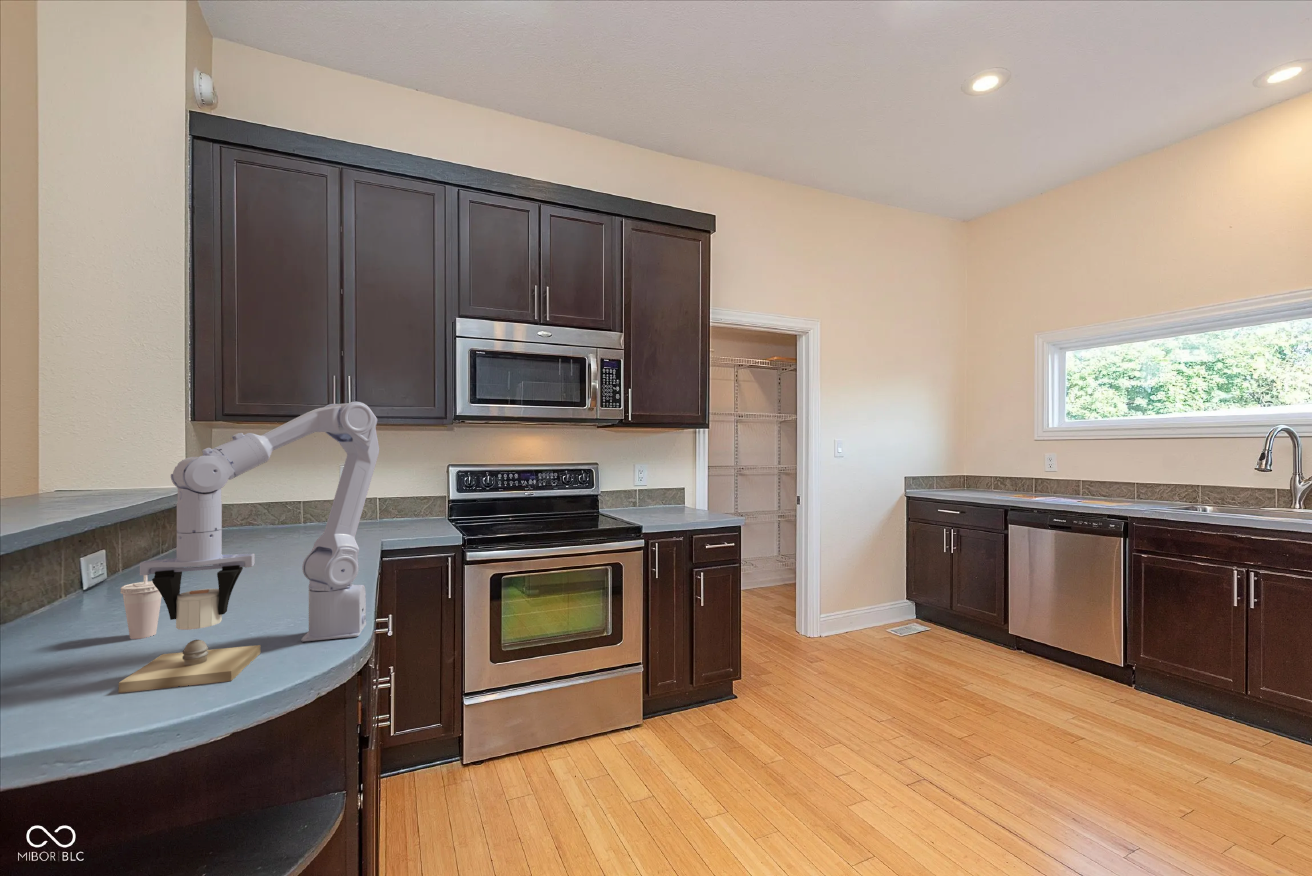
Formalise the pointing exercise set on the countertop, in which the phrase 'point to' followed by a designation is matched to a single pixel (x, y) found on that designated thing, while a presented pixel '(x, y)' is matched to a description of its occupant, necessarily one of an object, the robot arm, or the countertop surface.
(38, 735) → the countertop surface
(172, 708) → the countertop surface
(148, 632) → the smoothie
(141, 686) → the post board
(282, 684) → the countertop surface
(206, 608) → the cream short cylinder
